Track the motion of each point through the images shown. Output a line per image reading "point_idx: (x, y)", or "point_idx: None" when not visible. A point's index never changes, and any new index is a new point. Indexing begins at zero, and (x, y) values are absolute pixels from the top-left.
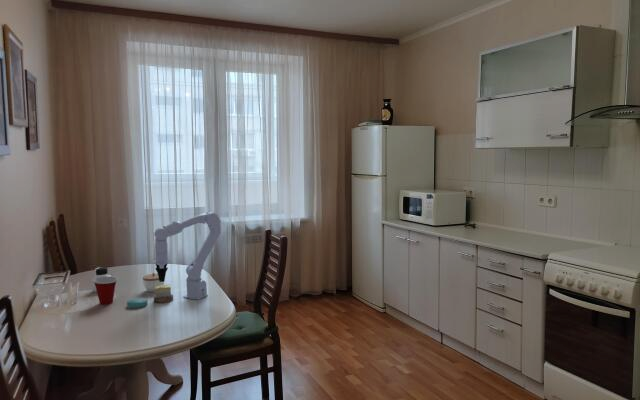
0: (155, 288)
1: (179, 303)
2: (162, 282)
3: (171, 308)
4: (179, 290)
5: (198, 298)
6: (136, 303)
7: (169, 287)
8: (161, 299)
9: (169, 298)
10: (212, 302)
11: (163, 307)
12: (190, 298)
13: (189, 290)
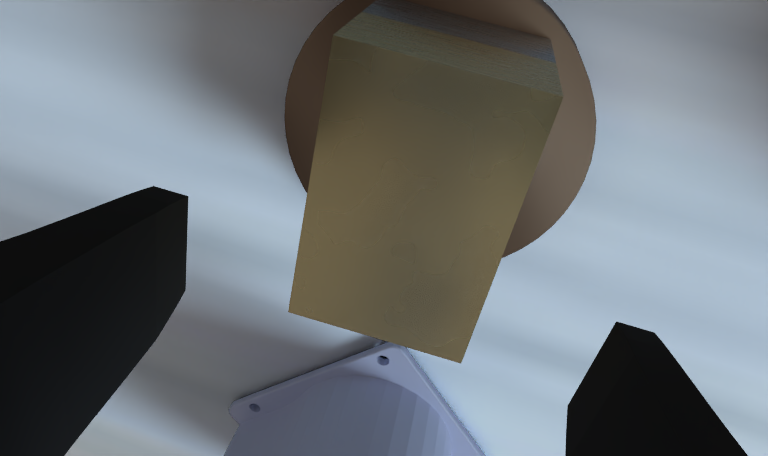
0: (337, 36)
1: (198, 231)
2: None
3: (39, 94)
4: (758, 419)
5: (234, 418)
6: None
7: (294, 291)
8: (296, 65)
9: (307, 182)
10: (107, 445)
11: (111, 17)
12: (306, 374)
13: (294, 448)
